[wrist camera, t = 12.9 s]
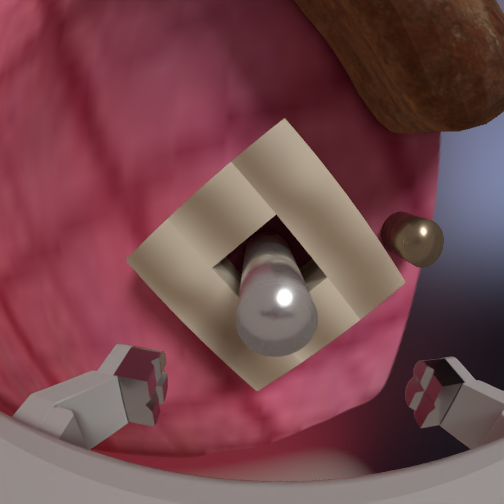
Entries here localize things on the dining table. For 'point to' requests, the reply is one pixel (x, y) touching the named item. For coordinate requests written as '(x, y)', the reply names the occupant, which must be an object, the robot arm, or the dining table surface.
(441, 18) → the bread
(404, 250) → the short bronze pin
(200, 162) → the dining table surface
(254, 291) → the tall steel pin
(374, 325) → the dining table surface
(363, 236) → the birch block
